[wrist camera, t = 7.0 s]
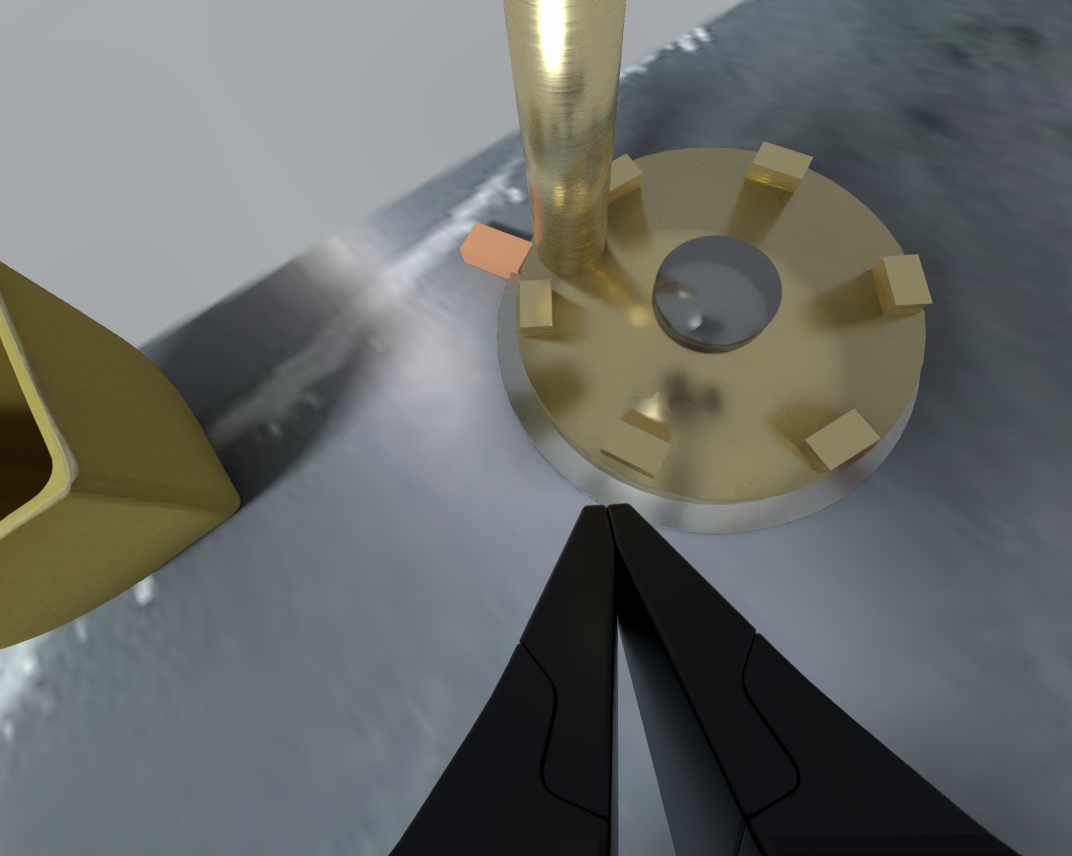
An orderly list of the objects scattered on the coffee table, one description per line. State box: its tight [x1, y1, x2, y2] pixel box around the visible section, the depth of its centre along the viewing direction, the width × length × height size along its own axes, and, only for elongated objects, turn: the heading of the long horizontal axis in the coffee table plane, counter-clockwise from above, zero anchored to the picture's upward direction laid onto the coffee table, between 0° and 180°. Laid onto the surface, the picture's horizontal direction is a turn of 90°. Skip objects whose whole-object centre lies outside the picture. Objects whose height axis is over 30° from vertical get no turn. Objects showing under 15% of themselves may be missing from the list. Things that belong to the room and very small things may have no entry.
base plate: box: [497, 235, 921, 534], centre depth 18 cm, size 17×17×4 cm
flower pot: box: [0, 262, 240, 649], centre depth 15 cm, size 9×9×9 cm
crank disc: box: [503, 0, 933, 505], centre depth 13 cm, size 15×15×11 cm
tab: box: [460, 222, 533, 280], centre depth 21 cm, size 3×2×1 cm, turn 63°
